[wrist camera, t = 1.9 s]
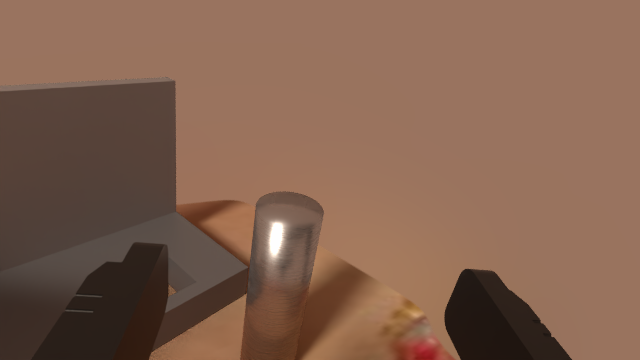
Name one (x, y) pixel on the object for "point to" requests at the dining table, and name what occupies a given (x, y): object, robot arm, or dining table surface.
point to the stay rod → (279, 274)
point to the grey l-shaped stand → (95, 205)
